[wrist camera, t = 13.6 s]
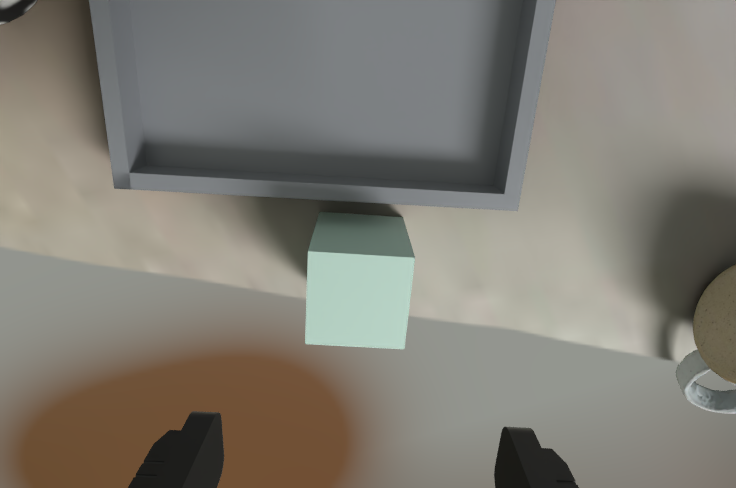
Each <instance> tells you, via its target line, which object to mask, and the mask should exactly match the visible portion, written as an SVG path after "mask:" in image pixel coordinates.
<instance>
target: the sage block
mask: <svg viewBox="0 0 736 488" xmlns="http://www.w3.org/2000/svg"><path fill="white" fill-rule="evenodd" d="M414 262H415V256H414V253H413V249H412V246H411V243H410V239H409V236H408V233H407V229H406V226H405V223H404V219H403V217H391V216H376V215H361V214H346V213H331V212H319V215H318V219H317V222H316V225H315V229H314V232H313V236H312V239H311V242H310V246H309V249H308V264H307V299H306V336H305V344H315V345H333V346H353V347H371V348H372V347H373V348H392V349H404V348H405V338H406V331H407V322H408V314H409V305H410V296H411V288H412V279H413V271H414Z"/></svg>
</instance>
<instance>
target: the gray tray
mask: <svg viewBox="0 0 736 488" xmlns="http://www.w3.org/2000/svg"><path fill="white" fill-rule="evenodd" d="M555 2H556V0H89V4H90V11H91V19H92V26H93V34H94V41H95V48H96V56H97V63H98V71H99V78H100V86H101V93H102V101H103V108H104V116H105V123H106V131H107V138H108V146H109V153H110V161H111V168H112V176H113V183H114V188H115V189H133V190H151V191H169V192H187V193H205V194H223V195H240V196H258V197H276V198H294V199H312V200H330V201H348V202H366V203H384V204H402V205H420V206H438V207H455V208H473V209H491V210H509V211H518V207H519V201H520V195H521V190H522V184H523V179H524V173H525V168H526V162H527V157H528V151H529V146H530V140H531V135H532V129H533V124H534V118H535V113H536V107H537V102H538V96H539V91H540V85H541V79H542V74H543V68H544V63H545V57H546V52H547V46H548V41H549V35H550V30H551V24H552V19H553V13H554V8H555Z"/></svg>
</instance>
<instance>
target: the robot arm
mask: <svg viewBox="0 0 736 488" xmlns="http://www.w3.org/2000/svg"><path fill="white" fill-rule="evenodd" d="M223 462H224V448H223V435H222V421H221V415H220V413H216V412H192V413H191V414H190V415H189V417H188V419H187V420H186V422H185V424H184V426H183V428H182V430H181V431H177V430H169V431H168V432H167V433H166V434H165V435H164V436H162V437H161V438H160V439H159V440H158V441H157V442H155V443H154V445H153V446H152V448H151V449H150V451H149V453H148V455H147V456H146V458H145V460H144V463H143V464H142V465H141V467H140V468H139V470H138V472H137V473H136V477H135V478H133V480H132V482H131V483H130V485H129V487H128V488H217V486H218V483H219V480H220V477H221V474H222V468H223ZM494 477H495V488H579V487H578V485H576V483H575V479H574V477H573V475H572V473H571V471H570V470H569V468H568V465H567V464H566V463H565V462H564V461H563V460H562V459H561V458H560V457H559V456H558V455H557V454H556V453H555V452H554V451H553V450H552V449H546V448H545V449H544V448H541V446H540V444H539V442H538V440H537V438H536V435H535V433H534V431H533V430H532V429H531V428H516V427H504V428H503V430H502V433H501V438H500V443H499V448H498V454H497V459H496V464H495V473H494Z"/></svg>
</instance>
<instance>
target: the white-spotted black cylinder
mask: <svg viewBox="0 0 736 488" xmlns="http://www.w3.org/2000/svg"><path fill="white" fill-rule="evenodd" d="M36 2H37V0H0V24H4V23H8V22H10V21H12V20H14V19H16V18H18V17H20V16H22V15H23V14H24V13H25V12H27V11H28V10H29V9H30V8H31V7H32V6H33V5H34V4H35V3H36Z"/></svg>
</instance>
